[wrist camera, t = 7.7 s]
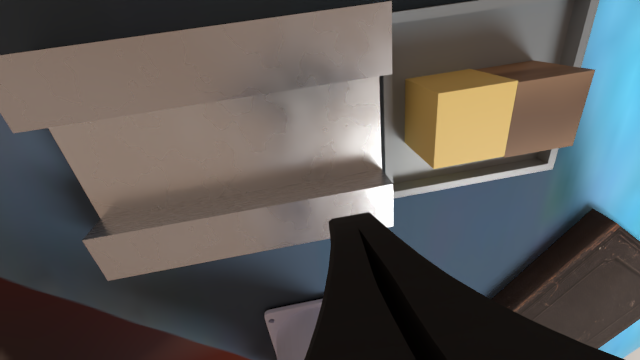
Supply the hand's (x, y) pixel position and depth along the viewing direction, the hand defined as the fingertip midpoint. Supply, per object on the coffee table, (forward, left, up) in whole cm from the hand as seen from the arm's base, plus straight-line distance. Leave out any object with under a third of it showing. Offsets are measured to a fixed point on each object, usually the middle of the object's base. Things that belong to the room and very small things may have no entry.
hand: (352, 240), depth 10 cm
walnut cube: (+1, -12, -10) cm, 15 cm away
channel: (+1, +5, -10) cm, 11 cm away
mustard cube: (+1, -8, -10) cm, 13 cm away
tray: (+1, -10, -10) cm, 14 cm away
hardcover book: (-24, -21, -11) cm, 34 cm away
